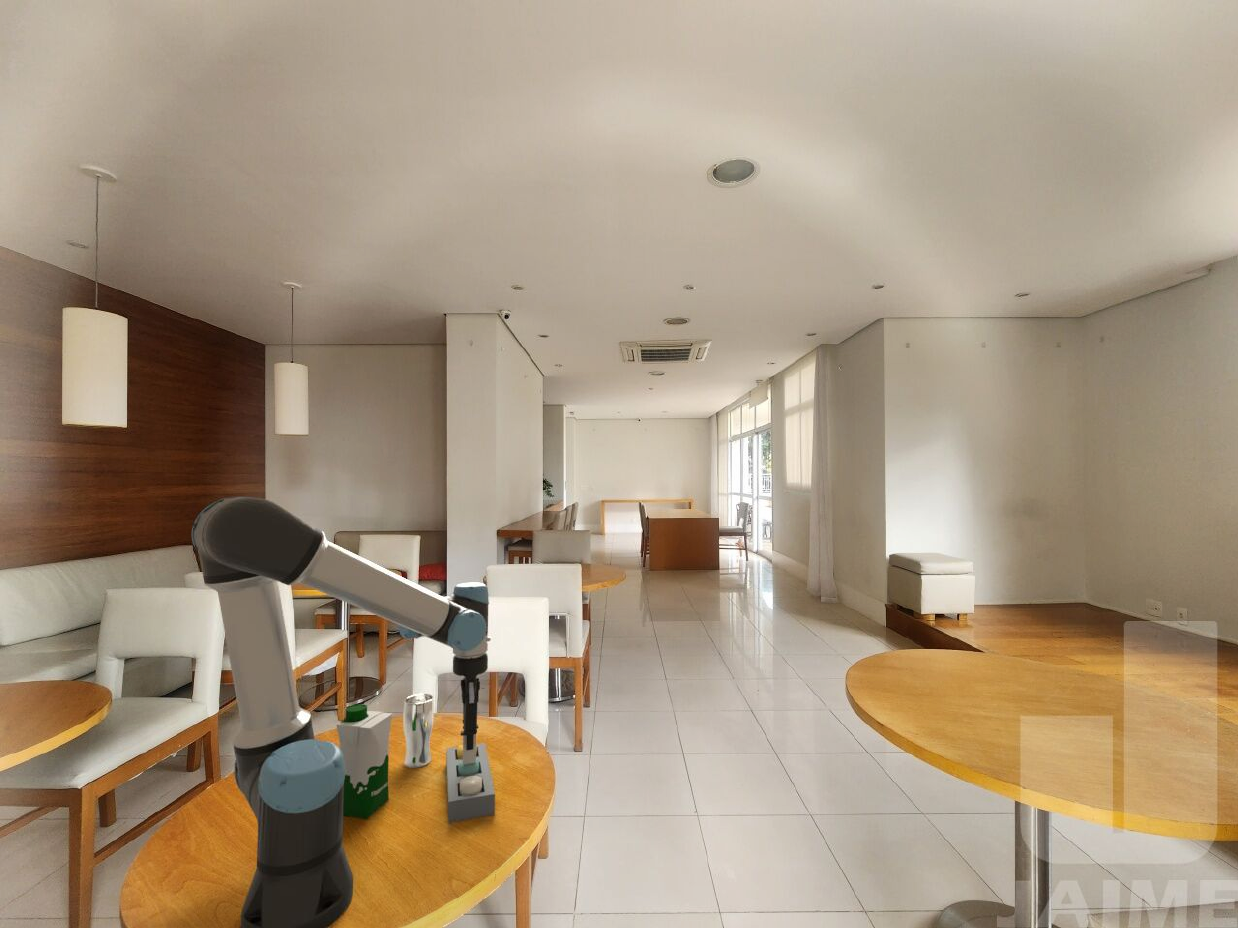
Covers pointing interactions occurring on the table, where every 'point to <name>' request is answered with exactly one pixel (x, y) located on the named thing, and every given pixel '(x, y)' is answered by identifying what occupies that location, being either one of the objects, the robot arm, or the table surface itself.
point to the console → (470, 803)
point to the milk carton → (364, 760)
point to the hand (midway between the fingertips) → (469, 762)
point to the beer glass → (418, 729)
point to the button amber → (461, 752)
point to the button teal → (468, 768)
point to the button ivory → (470, 785)
